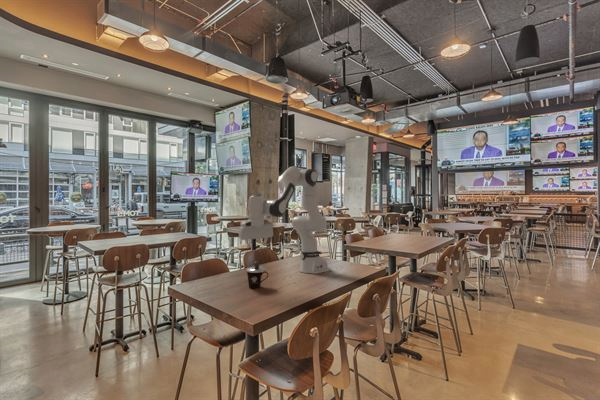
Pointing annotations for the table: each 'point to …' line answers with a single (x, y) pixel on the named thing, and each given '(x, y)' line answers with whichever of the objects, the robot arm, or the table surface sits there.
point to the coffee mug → (255, 279)
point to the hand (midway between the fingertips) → (256, 246)
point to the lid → (256, 268)
